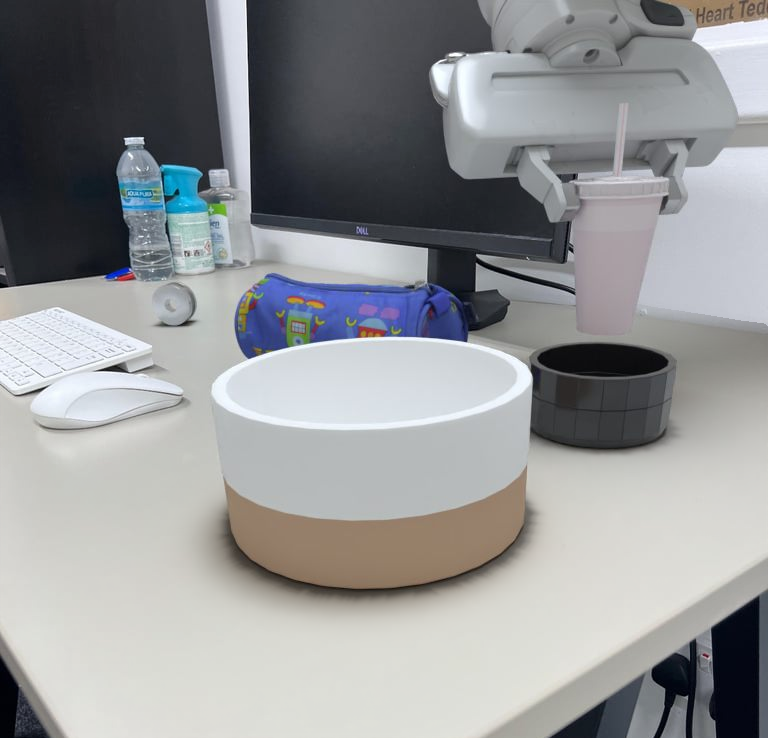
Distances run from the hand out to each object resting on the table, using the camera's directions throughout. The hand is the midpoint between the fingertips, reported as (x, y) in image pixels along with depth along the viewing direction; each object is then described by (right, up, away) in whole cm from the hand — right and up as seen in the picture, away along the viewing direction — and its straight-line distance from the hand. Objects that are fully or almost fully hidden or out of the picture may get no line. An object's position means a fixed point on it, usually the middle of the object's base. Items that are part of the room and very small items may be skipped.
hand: (621, 211), depth 47 cm
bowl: (-16, -20, -4) cm, 26 cm away
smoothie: (0, -7, +4) cm, 8 cm away
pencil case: (-18, -8, +20) cm, 28 cm away
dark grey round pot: (0, -13, +7) cm, 15 cm away
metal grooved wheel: (-42, +5, +46) cm, 63 cm away
